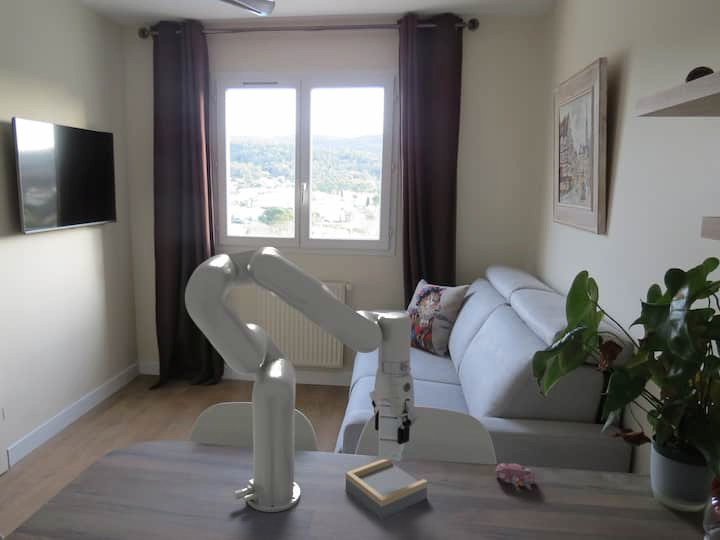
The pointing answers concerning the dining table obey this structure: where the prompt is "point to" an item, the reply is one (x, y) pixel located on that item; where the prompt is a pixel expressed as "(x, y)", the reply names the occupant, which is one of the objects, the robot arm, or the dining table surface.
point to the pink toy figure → (515, 474)
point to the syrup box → (388, 434)
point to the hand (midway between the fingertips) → (391, 435)
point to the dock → (385, 487)
